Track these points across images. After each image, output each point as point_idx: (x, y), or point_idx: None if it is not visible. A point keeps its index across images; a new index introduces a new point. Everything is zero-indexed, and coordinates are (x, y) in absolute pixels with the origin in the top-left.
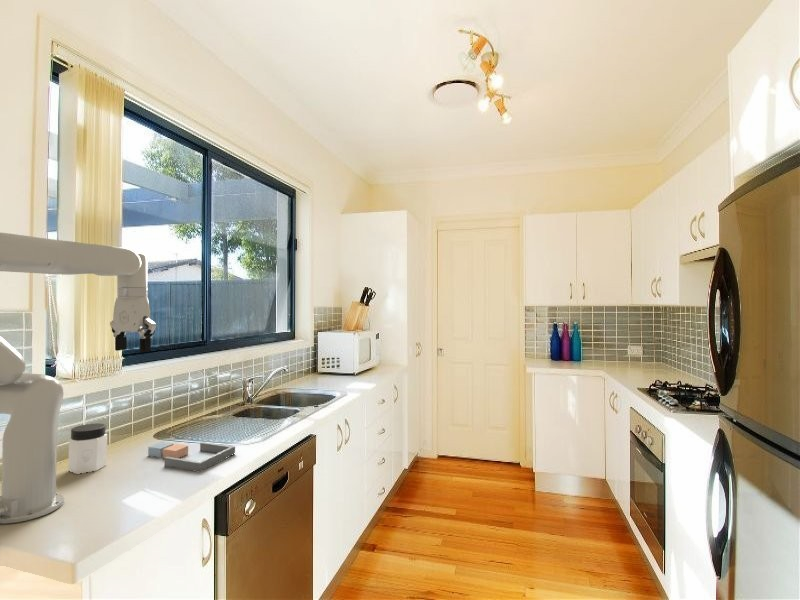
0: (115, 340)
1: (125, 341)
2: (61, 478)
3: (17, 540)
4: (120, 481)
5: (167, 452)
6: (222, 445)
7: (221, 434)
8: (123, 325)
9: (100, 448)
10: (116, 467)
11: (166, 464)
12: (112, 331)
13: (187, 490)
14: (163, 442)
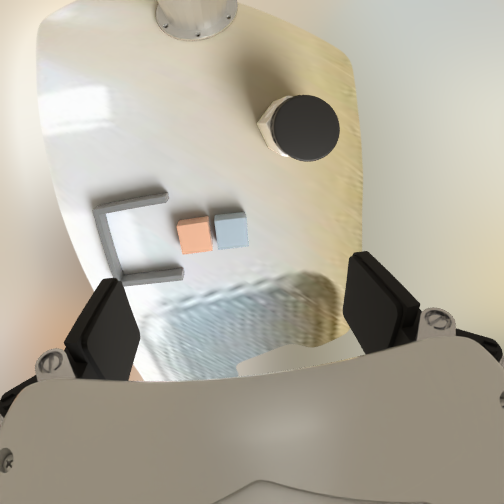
0: (402, 289)
1: (365, 343)
2: (279, 82)
3: None
4: (171, 116)
5: (196, 221)
6: (136, 282)
7: (224, 330)
8: (264, 469)
9: (266, 133)
10: (241, 149)
11: (162, 194)
12: (484, 338)
13: (60, 156)
14: (242, 245)
